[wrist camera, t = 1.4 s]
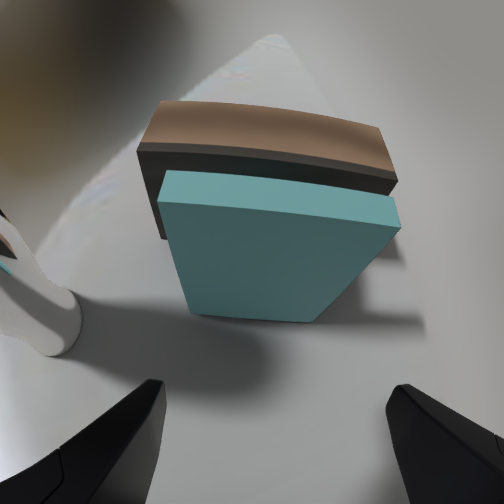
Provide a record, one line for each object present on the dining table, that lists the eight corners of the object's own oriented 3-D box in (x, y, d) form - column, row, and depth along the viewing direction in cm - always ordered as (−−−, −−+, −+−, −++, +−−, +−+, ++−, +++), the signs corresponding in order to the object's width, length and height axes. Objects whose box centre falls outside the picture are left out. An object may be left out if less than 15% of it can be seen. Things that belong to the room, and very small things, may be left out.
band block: (345, 255, 25) (398, 181, 17) (161, 238, 24) (136, 150, 16) (339, 206, 28) (378, 127, 19) (173, 189, 27) (160, 100, 18)
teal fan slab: (311, 322, 22) (401, 227, 10) (190, 313, 21) (157, 201, 10) (308, 239, 25) (365, 115, 14) (202, 229, 25) (195, 92, 13)
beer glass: (95, 288, 22) (-7, 156, 9) (78, 371, 18) (-73, 304, 5) (34, 277, 21) (-66, 167, 8) (16, 350, 18) (-114, 275, 5)
